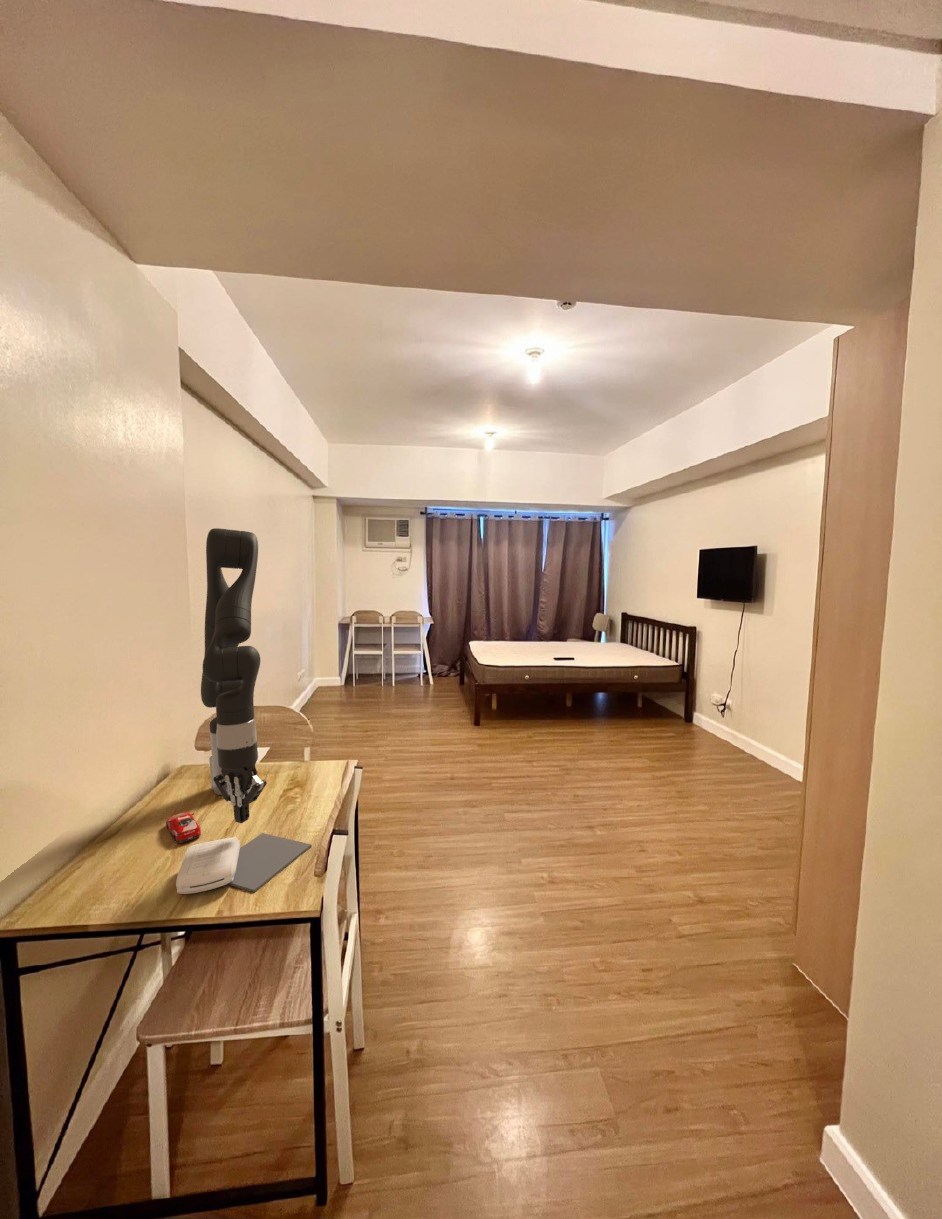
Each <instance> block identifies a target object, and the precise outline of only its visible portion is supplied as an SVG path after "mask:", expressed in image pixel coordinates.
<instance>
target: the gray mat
mask: <svg viewBox="0 0 942 1219" xmlns="http://www.w3.org/2000/svg"><path fill="white" fill-rule="evenodd" d="M311 848H312V843H306V842H302V841H297V840H294V839H289V838H285V837H281V836H276V835H273V834H268V833H264V832H261V834H259V835H257V836H256V837H254V838H252V840H250V841H249V842H247V843H245V844H244V845H242V846H240V850H239V856H238V861H237V867H236V872H235V875H234V879H233V881H232V882H230V883H228V884H227V886H232V887H235V888H238V889H242V890H244V891H248V892H252V893H256V892H257V891H259V890H260V889H261V888H262V887H264V886H265V885H266V884H267V883H269V881H271V880H272V879H274V877H276V876H277V875H278V874H279V873H281V872H282V871H283V870H285V869H286V868H287V867H288V866H289V865H291V864H292V863H293V862H294V861H296V860H297V859H299V857H301V856H302V855H303V854H304V853H306V852H307V851H308V850H309V849H311Z"/></svg>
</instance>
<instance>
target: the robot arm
mask: <svg viewBox="0 0 942 1219" xmlns="http://www.w3.org/2000/svg"><path fill="white" fill-rule="evenodd" d="M205 549H206V550H205V558H206V603H205V614H204V655H203V656H204V657H203V661H202V672H201V673H202V675H201V682H200V698H201V699H200V700H201V702H202V704H203V706H204V707H206V708H209V709H210V708H215V712H216V717H214V718H212V719H211V720H210V722H209V739H210V750H211V753H210V754H211V756H210V757H209V770H210V771H209V774H210V786H211V787H210V789H211V791H213V792H214V794H216V795H218V796H222V797H223V799H224V801H226V802H230V804H231V805H232V807H233V818H234V821H235V823H239V824H243V823H245V822H247V821H248V820H249V818H250V804H252V803H253V802H255V801H257V800H258V799H259V797H260V795H261V794H262V792H263V790H264V789H265V787H266V786H267V780H266V779H263V780H261V779H260V778H259V776H258V770H257V767H256V764H257V762H258V759H259V752H258V750H259V748H258V738H257V735H258V734H257V725H256V719H255V709H254V708H255V707H254V706H255V705H254V697H255V694H254V693H255V686H256V682H257V679H258V675H259V670H260V668H261V667H260V665H261V655H260V652H259V650H258V649H257V648H255V647H254V646H253V645H241V646H239V645H240V644H243V643H245V642H247V641H248V640H249V639H250V637H251V634H252V601H253V594H254V588H255V583H256V577H257V569H258V557H259V541H258V538H257V536H256V534H255V533H254V532H251V531H245V530H236V529H229V528H228V529H227V528H218V527H217V528H212V529H210V530H209V531H208V533H207V536H206V545H205ZM222 568H223V569H224V568H225V569H236V570H237V569H240V570H241V573H240V574H239V576H238V577H237V579H236V580H235V581H234V582H233V583H232V584H231V585H230V586H229V585H228V584H227V581H226V579H225V577H224V574H223V570H222Z"/></svg>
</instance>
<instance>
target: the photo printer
mask: <svg viewBox="0 0 942 1219" xmlns="http://www.w3.org/2000/svg"><path fill="white" fill-rule="evenodd" d="M240 848H241V841H240V840H239V839H238V838H237V836H235V837H225V838H220V839H216V840H211V841H204V842H200V843H197V844H193V845H190V846H188V847H187V848H186V852H185V853H184V857H183V860H182V862H181V865H180V868H179V870H178V873H177V876H176V879H175V887H176V893H177V894H179V895H189V894H191V895H192V894H197V893H201V892H203V893H204V892H206V891H210V890H214V889H217V888H220V887H222V886H226V885H228V883H230V882H232V881H233V879H234V875H235V872H236V867H237V861H238V856H239V850H240Z"/></svg>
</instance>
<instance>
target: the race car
mask: <svg viewBox="0 0 942 1219" xmlns="http://www.w3.org/2000/svg"><path fill="white" fill-rule="evenodd" d="M194 816H195V813H192V814H191V812H179V813H176V814H173V815H171V816H170V817H168V818H167V819H166V821H165V824H166V828H167V830H168V832H169V833H170V835H171V836H172V838H173V839H174V840H173V841H175V843H176V844H182V843H186V842H189V841H192V840H194V839H197V838H199V837H201V836H202V831H201V830H202V829H201V827H200V824H199V823H198V822H197V820H196V819H195V817H194Z"/></svg>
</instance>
